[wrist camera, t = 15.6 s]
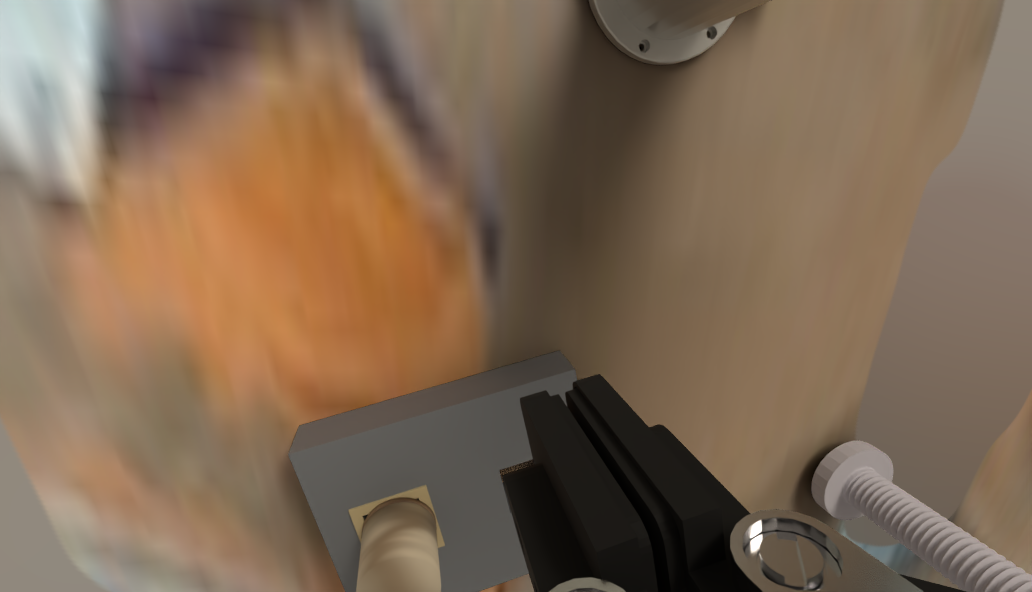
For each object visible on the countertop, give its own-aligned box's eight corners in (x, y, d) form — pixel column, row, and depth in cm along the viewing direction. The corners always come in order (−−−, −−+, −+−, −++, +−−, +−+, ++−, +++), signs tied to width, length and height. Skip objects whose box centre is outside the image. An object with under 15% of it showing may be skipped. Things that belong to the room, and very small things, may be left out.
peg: (424, 460, 41) (430, 545, 32) (440, 513, 43) (450, 608, 34) (356, 481, 40) (343, 575, 31) (376, 535, 42) (369, 637, 33)
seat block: (559, 350, 42) (575, 370, 38) (590, 514, 47) (608, 546, 43) (299, 425, 38) (287, 456, 34) (366, 592, 44) (362, 635, 40)
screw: (874, 473, 55) (1120, 636, 36) (813, 514, 54) (1030, 701, 36) (856, 419, 52) (1113, 566, 33) (792, 462, 52) (1015, 636, 33)
